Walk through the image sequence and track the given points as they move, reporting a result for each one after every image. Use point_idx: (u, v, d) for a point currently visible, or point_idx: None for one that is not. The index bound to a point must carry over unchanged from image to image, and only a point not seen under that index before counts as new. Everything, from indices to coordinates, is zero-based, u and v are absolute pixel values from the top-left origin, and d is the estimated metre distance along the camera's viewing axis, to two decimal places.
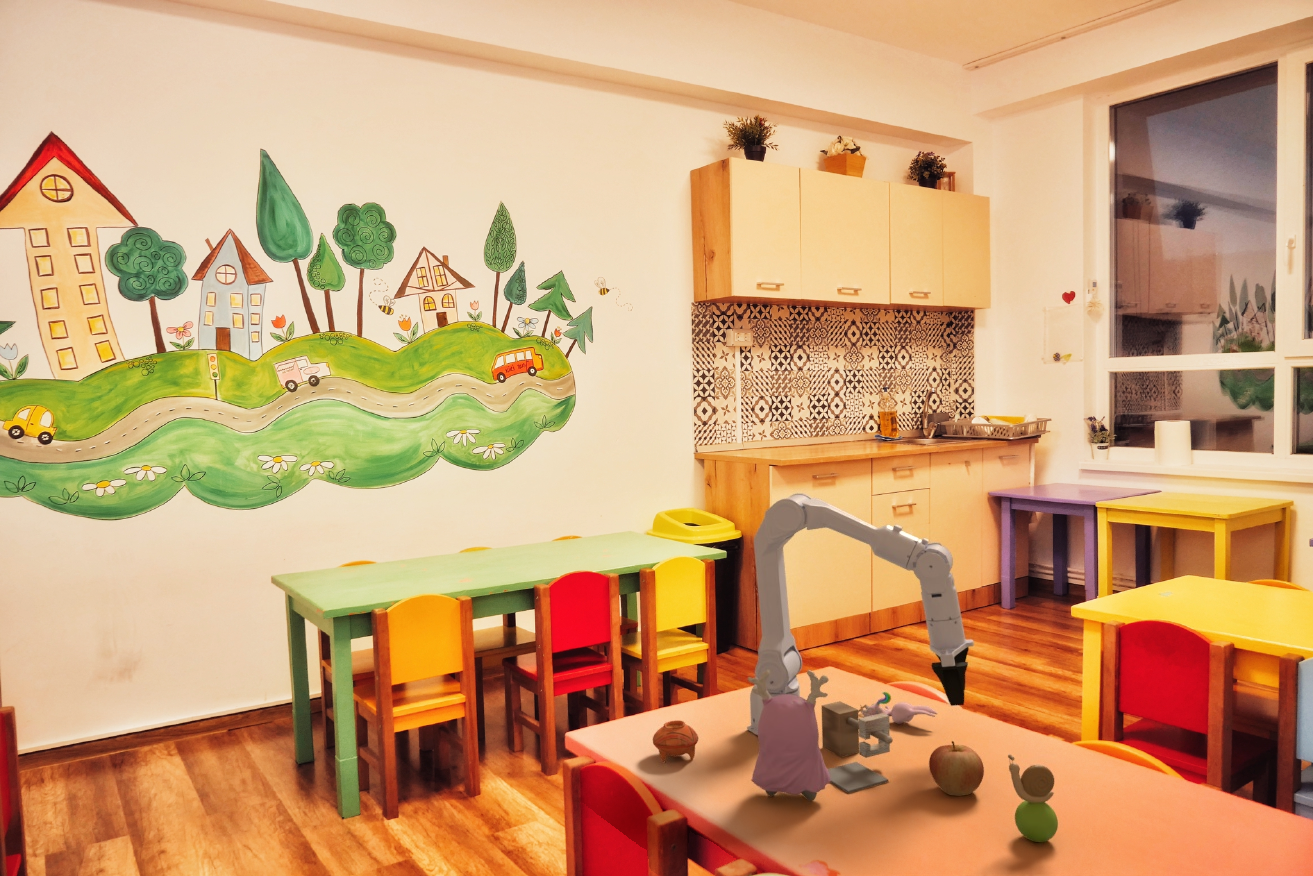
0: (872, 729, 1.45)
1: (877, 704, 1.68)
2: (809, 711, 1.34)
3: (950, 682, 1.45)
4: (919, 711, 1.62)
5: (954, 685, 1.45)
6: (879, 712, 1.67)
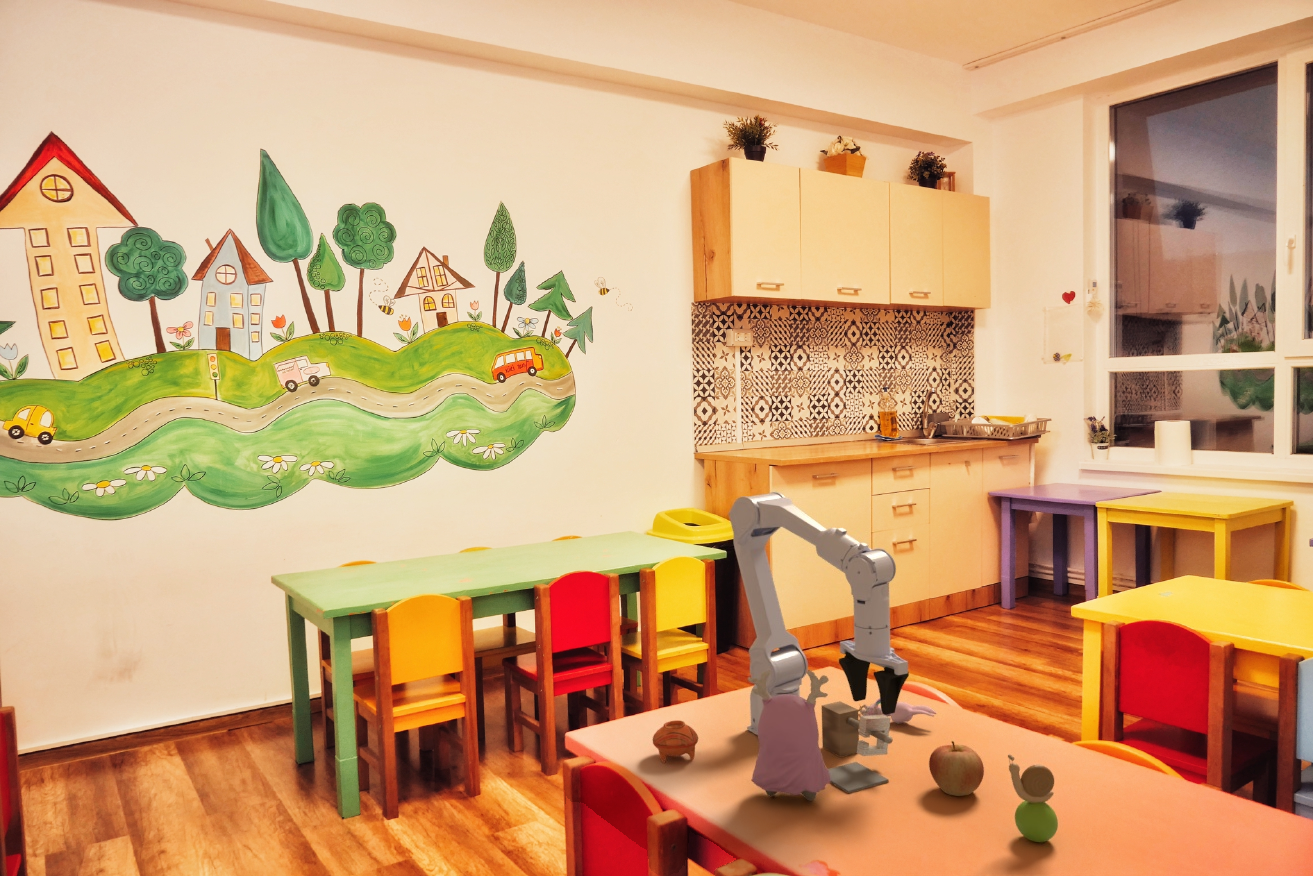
0: (872, 728, 1.45)
1: (876, 704, 1.68)
2: (809, 711, 1.34)
3: (888, 690, 1.42)
4: (918, 711, 1.62)
5: (890, 693, 1.42)
6: (878, 712, 1.68)
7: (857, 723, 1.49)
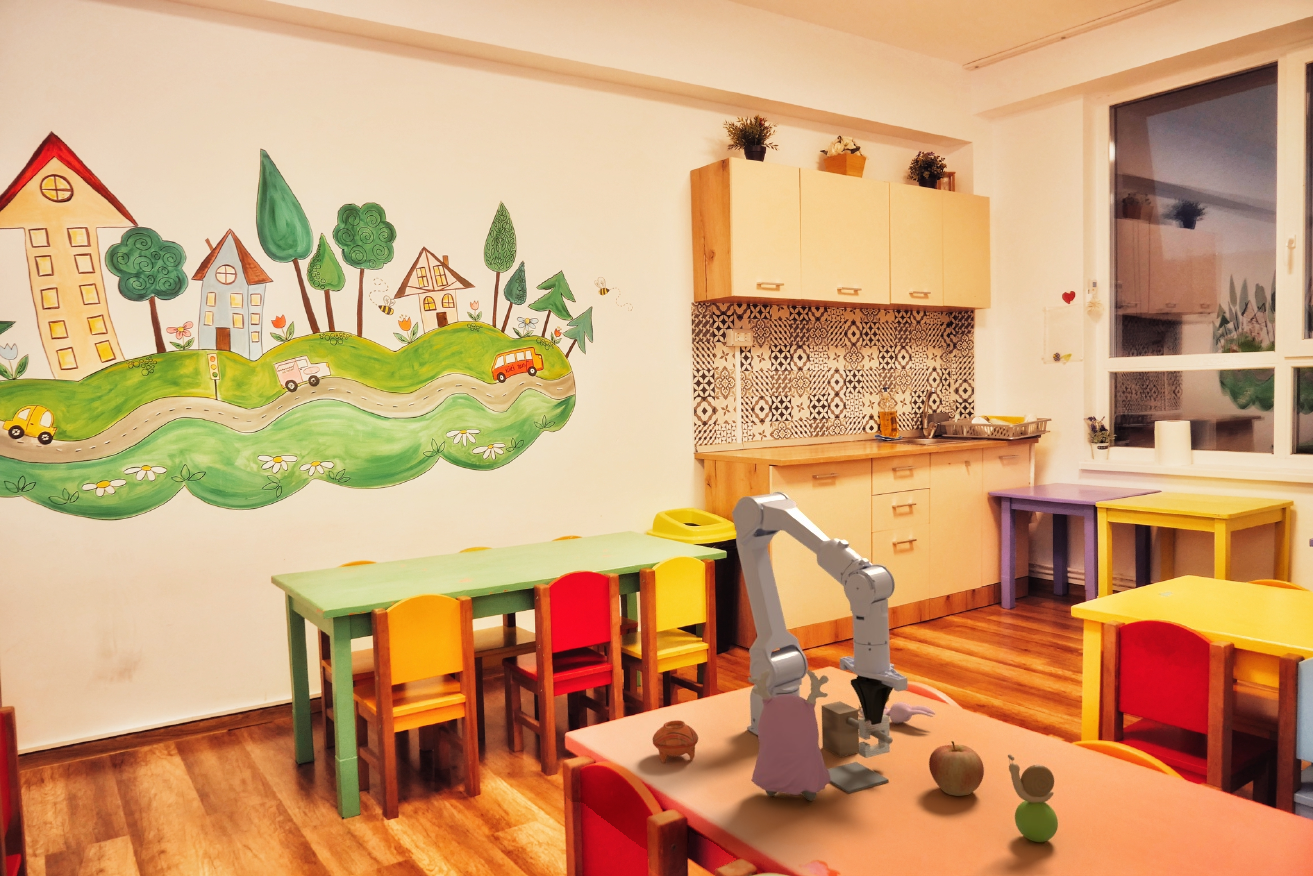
0: (872, 729, 1.45)
1: None
2: (809, 711, 1.34)
3: (874, 701, 1.45)
4: (917, 711, 1.62)
5: (877, 704, 1.45)
6: None
7: (857, 723, 1.49)
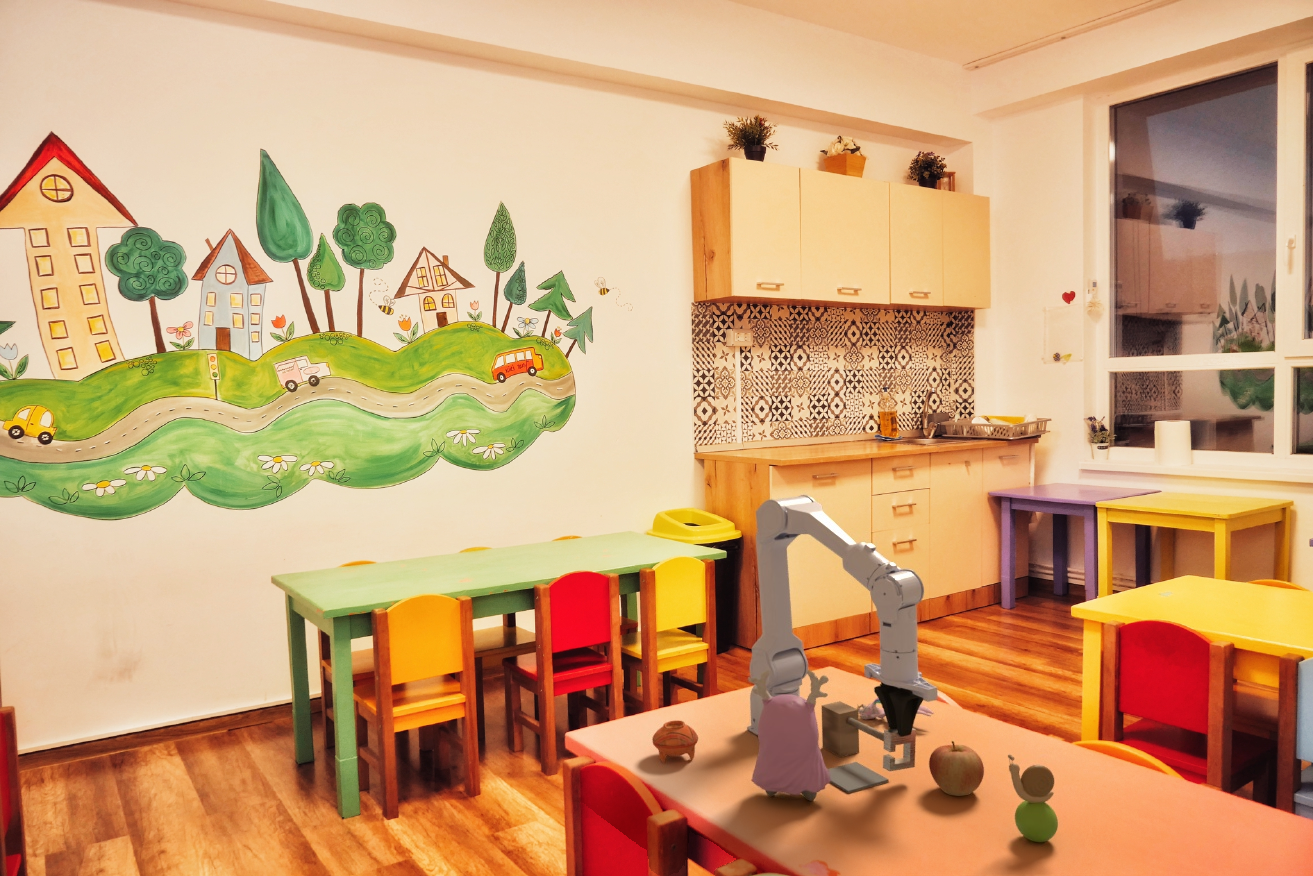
0: (897, 742, 1.39)
1: (874, 703, 1.68)
2: (809, 711, 1.34)
3: (904, 712, 1.39)
4: None
5: (907, 715, 1.39)
6: (876, 711, 1.68)
7: (857, 723, 1.49)
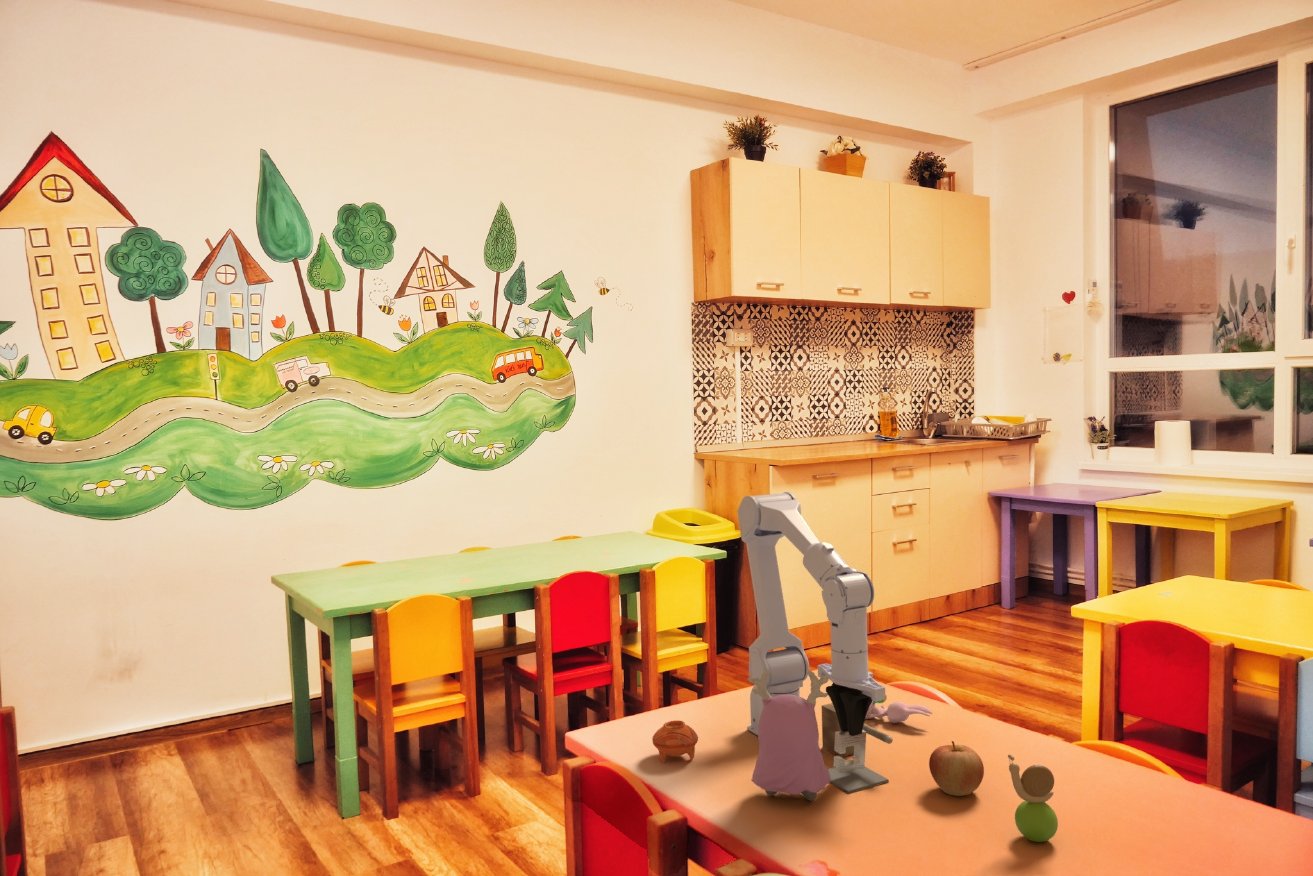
0: (848, 744, 1.42)
1: (873, 703, 1.68)
2: (809, 711, 1.34)
3: (855, 711, 1.41)
4: (914, 710, 1.63)
5: (857, 714, 1.41)
6: (875, 711, 1.68)
7: None
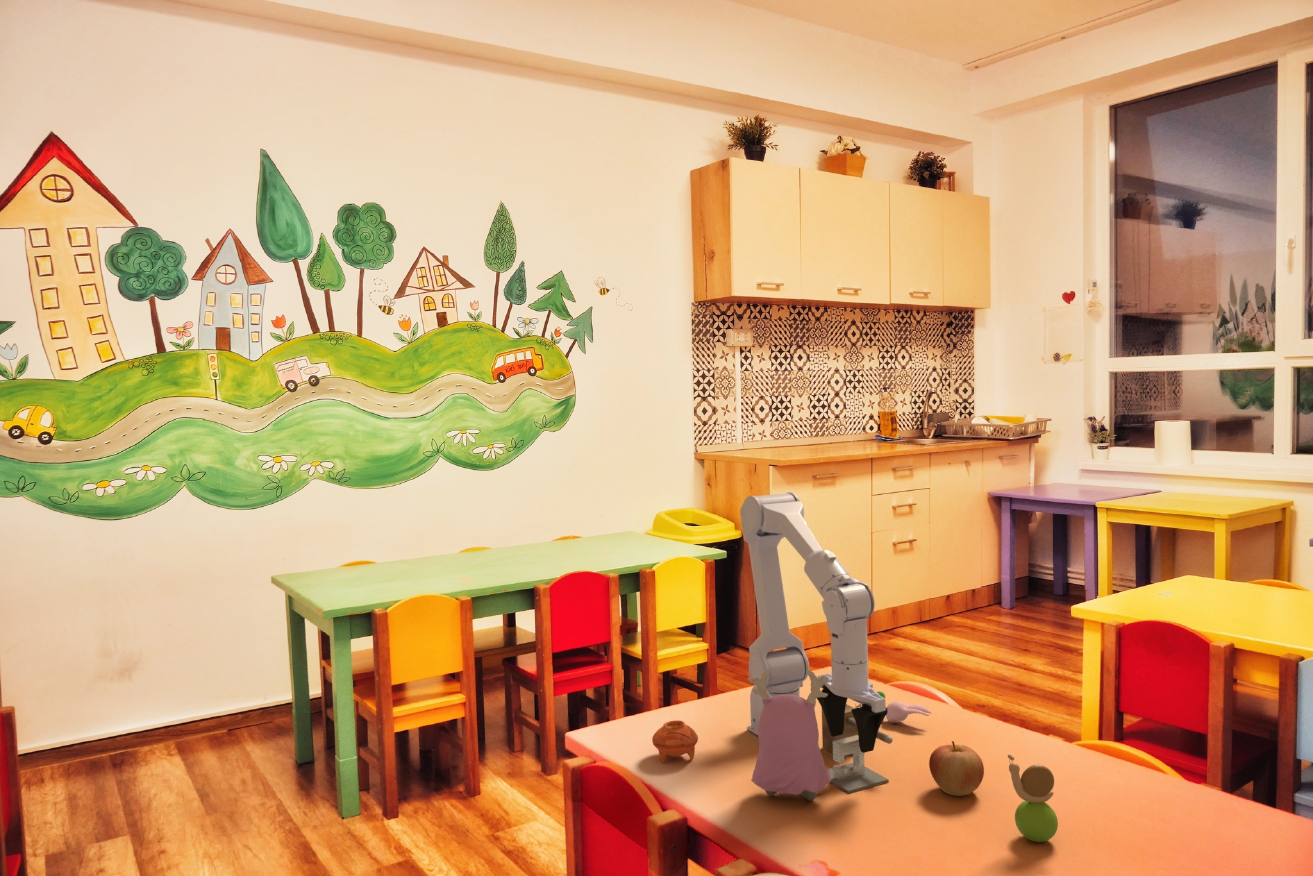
0: (846, 752, 1.42)
1: None
2: (809, 711, 1.34)
3: (866, 728, 1.39)
4: (913, 710, 1.63)
5: (869, 731, 1.39)
6: None
7: None
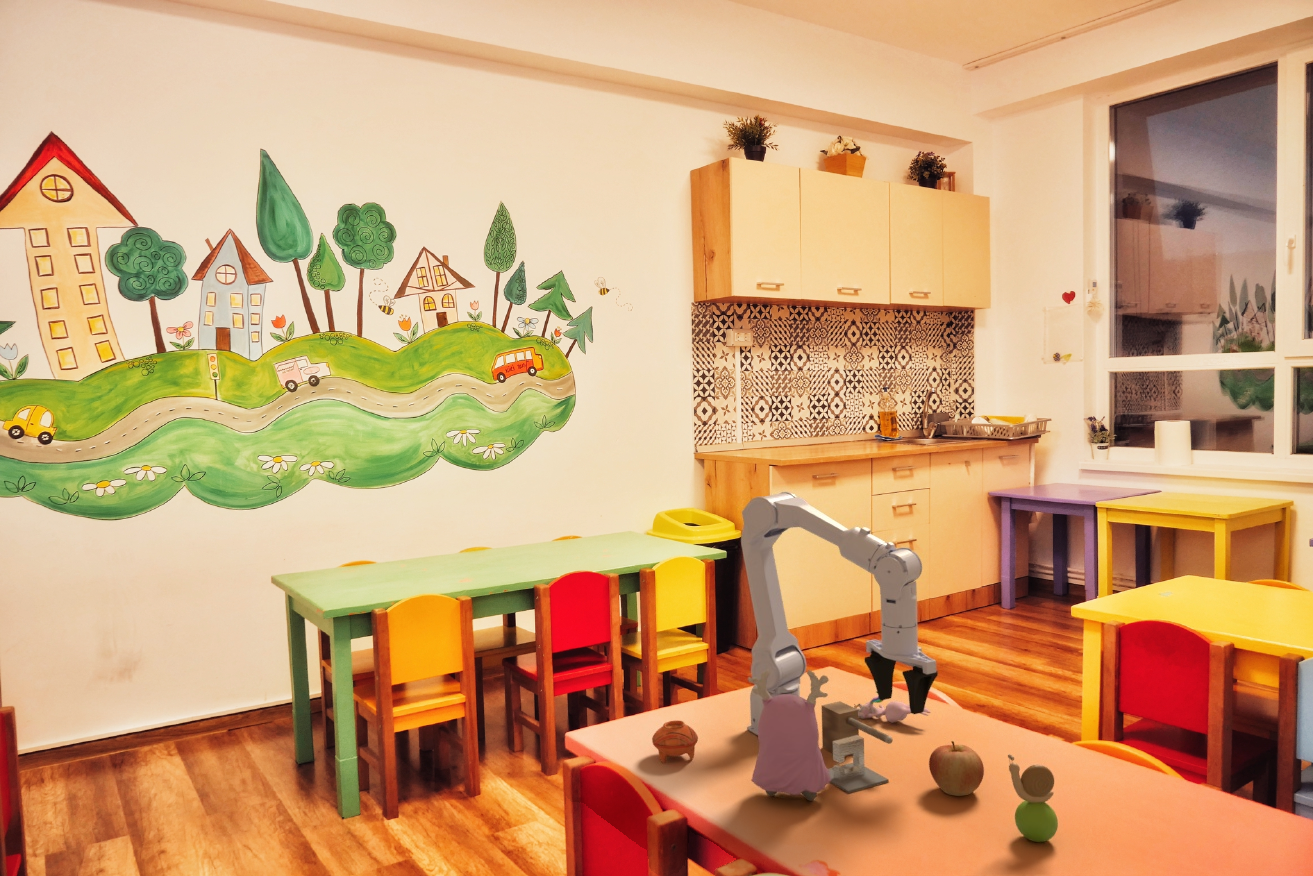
0: (846, 752, 1.42)
1: (871, 703, 1.69)
2: (809, 711, 1.34)
3: (917, 690, 1.42)
4: None
5: (919, 693, 1.42)
6: (873, 711, 1.68)
7: (857, 723, 1.49)
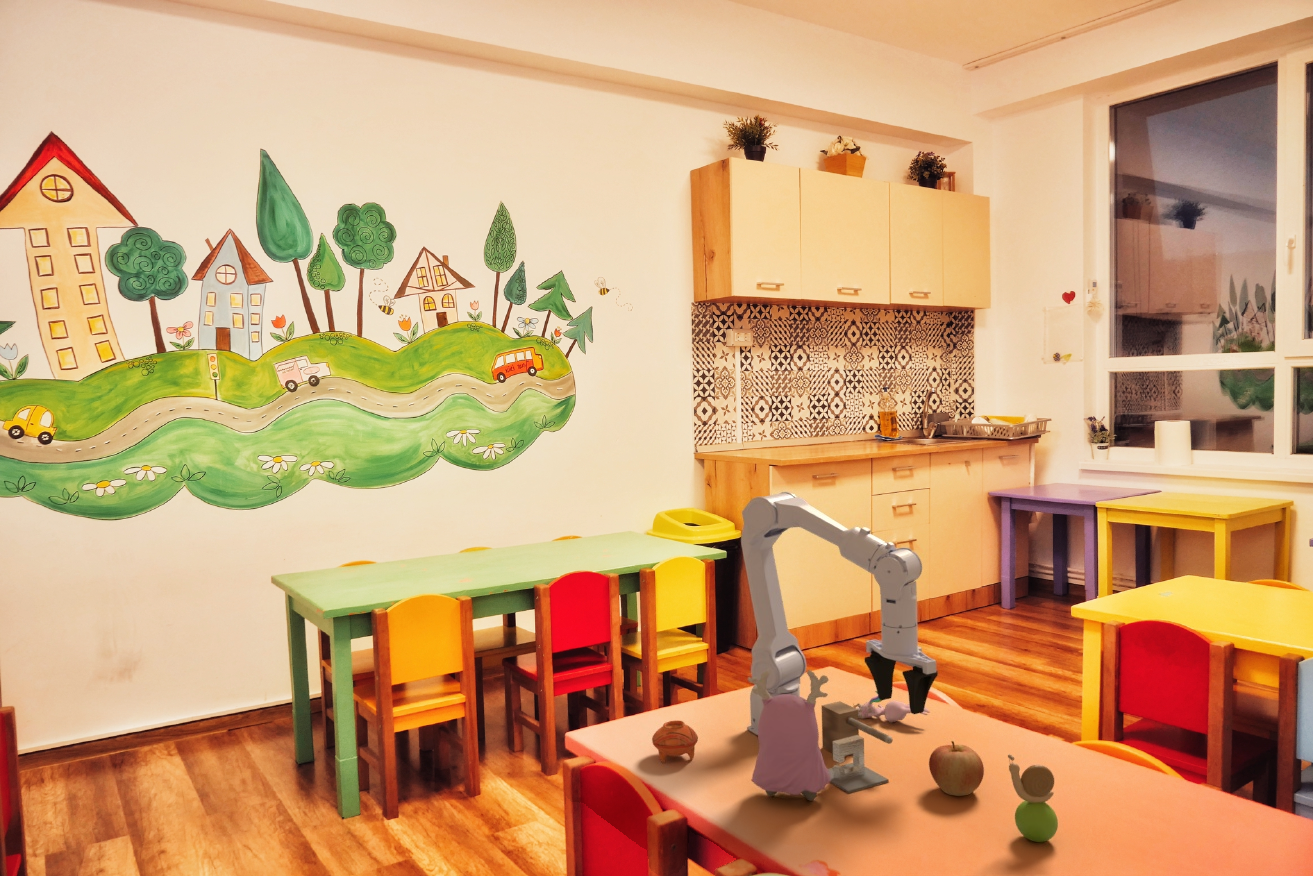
0: (846, 752, 1.42)
1: (870, 703, 1.69)
2: (809, 711, 1.34)
3: (917, 690, 1.42)
4: None
5: (919, 693, 1.42)
6: (872, 711, 1.68)
7: (857, 723, 1.49)
